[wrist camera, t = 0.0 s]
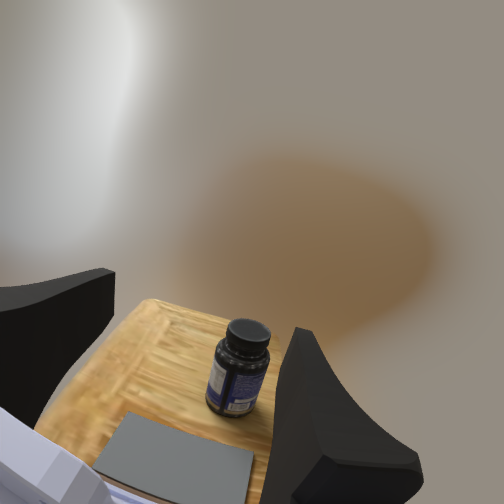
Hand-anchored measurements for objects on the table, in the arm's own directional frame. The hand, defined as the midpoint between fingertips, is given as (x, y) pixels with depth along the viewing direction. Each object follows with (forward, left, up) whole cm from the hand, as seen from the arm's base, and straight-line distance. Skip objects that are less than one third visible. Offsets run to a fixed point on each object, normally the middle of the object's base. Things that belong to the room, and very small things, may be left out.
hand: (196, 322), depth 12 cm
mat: (+8, +1, -22) cm, 23 cm away
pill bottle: (+20, -2, -22) cm, 30 cm away
